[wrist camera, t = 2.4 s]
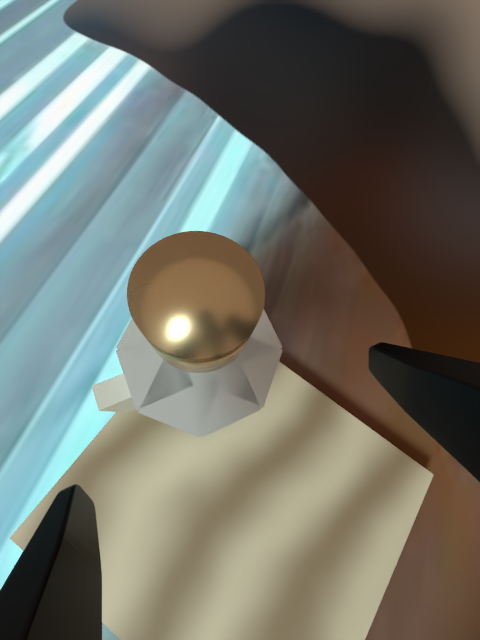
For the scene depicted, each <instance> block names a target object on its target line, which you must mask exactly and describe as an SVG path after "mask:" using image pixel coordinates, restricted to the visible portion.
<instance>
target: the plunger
mask: <svg viewBox="0 0 480 640" xmlns="http://www.w3.org/2000/svg"><path fill="white" fill-rule="evenodd" d="M127 300H128V306H129V310H130V314H131V316H132V318H133V320H134V322H135V324H136V325H137V327H138V329H139V330H140V331H141V333H142V334H143V335H144V337H145V338H146V339H147V341H148V342H149V343H150V344H151V346H152V347H153V348H154V350H155V351H156V352H157V354H158V355H159V356H160V357H161V358H162V359H163V360H164V361H165V362H167V363H168V364H170V365H171V366H173V367H175V368H177V369H179V370H182V371H185V372H191V373H207V372H212V371H215V370H218V369H221V368H223V367H225V366H227V365H228V364H230V363H231V362H232V361H233V360H235V359H236V358H237V357H238V356H239V354H240V353H241V352H242V351H243V349H244V347H245V346H246V344H247V342H248V340H249V338H250V336H251V334H252V333H253V331H254V329H255V327H256V325H257V323H258V321H259V319H260V317H261V315H262V312H263V308H264V303H265V285H264V280H263V277H262V274H261V271H260V269H259V267H258V265H257V264H256V262H255V260H254V259H253V258H252V256H251V255H250V254H249V253H248V252H247V251H246V250H245V249H244V248H243V247H241V246H240V245H239V244H237V243H236V242H234V241H232V240H231V239H228V238H226V237H224V236H221V235H218V234H215V233H210V232H203V231H189V232H181V233H177V234H174V235H171V236H168V237H166V238H164V239H162V240H160V241H158V242H157V243H155V244H154V245H152V246H151V247H150V248H149V249H147V250H146V251H145V252H144V253H143V254H142V256H141V257H140V258H139V259H138V261H137V262H136V264H135V266H134V268H133V270H132V272H131V275H130V278H129V282H128V287H127Z"/></svg>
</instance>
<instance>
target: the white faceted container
mask: <svg viewBox="0 0 480 640" xmlns="http://www.w3.org/2000/svg"><path fill="white" fill-rule="evenodd" d="M116 348H117V349H119V350H116V352H117V355H118V358H119V361H120V364H121V367H122V370H123V374H121V375H118V376H116V377H113V378H111V379H108V380H106V381H103V382H101V383H98V384H96V385H93V386H92V388H93V392H94V395H95V398H96V402H97V405H98V408H99V411H113V412H129V411H131V410H134V409H136V410H137V411H138V413H140V414H143V415H145V416H148V417H150V418H153V419H155V420H157V421H160V422H162V423H165V424H167V425H170V426H172V427H174V428H177V429H179V430H182V431H184V432H187V433H189V434H192V435H194V436H196V437H200V434H201V435H202V437H204V436H206V435H209V434H211V433H213V432H215V431H217V430H219V429H221V428H223V427H226V426H228V425H230V424H232V423H234V422H236V421H238V420H240V419H242V418H245V417H247V416H249V415H251V414H253V413H255V412H257V411H259V410H261V408H262V407H264V404H265V401H266V398H267V395H268V392H269V389H270V386H271V383H272V380H273V378H274V375H275V372H276V369H277V366H278V363H279V360H280V357H281V354H282V351H283V350H281V348H283V347H282V345H281V343H280V341H279V339H278V337H277V335H276V333H275V331H274V329H273V327H272V325H271V322H270V320H269V318H268V316H267V314H266V312H265V310H264V308H263V312H262V315H261V317H260V319H259V321H258V323H257V325H256V327H255V329H254V331H253V333H252V334H251V336H250V338H249V340H248V342H247V344H246V346H245V347H244V349H243V351H242V352H241V353H240V354H239V356H238V357H237V358H236V359H235V360H233V361H232V362H231V363H230V364H228V365H227V366H225V367H223V368H221V369H218V370H215V371H212V372H207V373H191V372H185V371H182V370H179V369H177V368H175V367H173V366H171V365H170V364H168V363H167V362H165V361H164V360H163V359H162V358H161V357H160V356H159V355H158V354H157V352H156V351H155V350H154V348H153V347H152V346H151V344H150V343H149V342H148V341H147V339H146V338H145V337H144V335H143V334H142V333H141V331H140V330H139V329H138V327H137V325H136V324H135V322H134V320H133V318H132V320H131V322H130V323H129V325H128V327H127V329H126V331H125V333H124V334H123V336H122V338H121V340H120V342H119V344H118V345H117V347H116Z"/></svg>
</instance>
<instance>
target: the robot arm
mask: <svg viewBox="0 0 480 640" xmlns="http://www.w3.org/2000/svg"><path fill="white" fill-rule="evenodd" d="M369 370H370V372H371V373H372V375H373V376H374V377H375V378H376V379H377V380H378V382H379V383H380V384H381V385H382V386H383V387H384V388H385V390H386V391H387V392H388V393H389V394H390V395H391V396H392V398H393V399H394V400H395V401H396V402H397V403H398V404H399V406H400V407H401V408H402V409H403V410H404V411H405V412H406V413H407V414H408V415H409V416H410V417H411V418H412V419H413V420H414V421H416V422H417V423H418V424H419V425H420V426H421V427H422V428H423V429H424V430H425V431H426V432H427V433H428V434H429V435H430V436H431V437H432V438H434V439H435V440H436V441H437V442H438V443H439V444H440V445H441V446H442V447H443V448H444V449H445V450H446V451H447V452H448V453H449V454H451V455H452V456H453V457H454V458H455V459H456V460H457V461H458V462H459V463H460V464H461V465H462V466H463V467H464V468H465V469H466V470H467V471H469V472H470V473H471V474H472V475H473V476H474V477H475V478H476V479H477V480H478V481H479V482H480V363H478V362H473V361H468V360H464V359H459V358H454V357H450V356H445V355H440V354H435V353H431V352H426V351H421V350H416V349H412V348H407V347H402V346H397V345H393V344H388V343H383V342H381V343H378V344H376V345H373V346H371V347H370V348H369ZM0 640H102V570H101V558H100V549H99V539H98V530H97V520H96V511H95V505H94V503H93V501H92V499H91V498H90V497H89V496H88V494H87V493H86V492H85V491H84V490H83V489H82V487H81V486H80V485H78V484H73V485H71V486H69V487H67V488H65V489H63V490H61V491H60V492H59V493H58V494H57V495H56V497H55V499H54V500H53V502H52V504H51V505H50V507H49V509H48V510H47V512H46V514H45V516H44V517H43V519H42V521H41V522H40V524H39V526H38V527H37V529H36V531H35V532H34V534H33V536H32V538H31V539H30V541H29V543H28V544H27V546H26V548H25V549H24V551H23V553H22V554H21V556H20V558H19V560H18V561H17V563H16V565H15V566H14V568H13V570H12V571H11V573H10V575H9V576H8V578H7V580H6V582H5V583H4V585H3V587H2V588H1V590H0Z"/></svg>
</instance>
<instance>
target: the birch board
mask: <svg viewBox="0 0 480 640" xmlns="http://www.w3.org/2000/svg"><path fill="white" fill-rule="evenodd" d="M432 477H433V474H432V473H431V472H429V471H428V470H427V469H425V468H424V467H422V466H421V465H420V464H418V463H417V462H416V461H414V460H413V459H412V458H410V457H409V456H407V455H406V454H405V453H403V452H402V451H401V450H399V449H398V448H397V447H395V446H394V445H392V444H391V443H390V442H388V441H387V440H386V439H384V438H383V437H381V436H380V435H379V434H377V433H376V432H375V431H373V430H372V429H371V428H369V427H368V426H366V425H365V424H364V423H362V422H361V421H360V420H358V419H357V418H356V417H354V416H353V415H351V414H350V413H349V412H347V411H346V410H345V409H343V408H342V407H341V406H339V405H338V404H336V403H335V402H334V401H332V400H331V399H330V398H328V397H327V396H326V395H324V394H323V393H321V392H320V391H319V390H317V389H316V388H315V387H313V386H312V385H311V384H309V383H308V382H306V381H305V380H304V379H302V378H301V377H300V376H298V375H297V374H296V373H294V372H293V371H291V370H290V369H289V368H287V367H286V366H285V365H283V364H282V363H281V362H279V363H278V366H277V369H276V372H275V375H274V378H273V380H272V383H271V386H270V389H269V392H268V395H267V398H266V401H265V404H264V407H262V408H261V410H259V411H257V412H255V413H253V414H251V415H249V416H247V417H245V418H242V419H240V420H238V421H236V422H234V423H232V424H230V425H228V426H226V427H223V428H221V429H219V430H217V431H215V432H213V433H211V434H209V435H206V436H204V437H202V435H201V434H200V437H196V436H194V435H192V434H189V433H187V432H184V431H182V430H179V429H177V428H174V427H172V426H170V425H167V424H165V423H162V422H160V421H157V420H155V419H153V418H150V417H148V416H145V415H143V414H140V413H138V411H137V410H136V409H134V410H131V411H129V412H116V413H115V414H114V416H113V417H112V418H111V419H110V420H109V421H108V423H107V424H106V425H105V426H104V427H103V429H102V430H101V431H100V432H99V433H98V434H97V436H96V437H95V438H94V439H93V440H92V442H91V443H90V444H89V445H88V446H87V448H86V449H85V450H84V451H83V452H82V453H81V455H80V456H79V457H78V458H77V459H76V461H75V462H74V463H73V464H72V465H71V466H70V468H69V469H68V470H67V471H66V472H65V474H64V475H63V476H62V477H61V478H60V479H59V481H58V482H57V483H56V484H55V485H54V487H53V488H52V489H51V490H50V491H49V492H48V494H47V495H46V496H45V497H44V498H43V500H42V501H41V502H40V503H39V504H38V505H37V507H36V508H35V509H34V510H33V511H32V513H31V514H30V515H29V516H28V517H27V518H26V520H25V521H24V522H23V523H22V524H21V526H20V527H19V528H18V529H17V530H16V531H15V533H14V534H13V535H12V536H11V537H10V539H11V540H12V541H13V542H15V543H16V544H17V545H18V546H19V547H20V548H21V549H22V550H23V551H24V549H25V548H26V546H27V544H28V543H29V541H30V539H31V538H32V536H33V534H34V532H35V531H36V529H37V527H38V526H39V524H40V522H41V521H42V519H43V517H44V516H45V514H46V512H47V510H48V509H49V507H50V505H51V504H52V502H53V500H54V499H55V497H56V495H57V494H58V493H59V492H60V491H61V490H63V489H65V488H67V487H69V486H71V485H73V484H78V485H80V486H81V487H82V489H83V490H84V491H85V492H86V493H87V494H88V496H89V497H90V498H91V499H92V501H93V503H94V505H95V511H96V520H97V530H98V539H99V549H100V558H101V570H102V623H103V624H104V625H105V626H107V627H108V628H109V629H110V630H111V631H112V632H113V633H114V634H115V635H116V636H118V637H119V638H120V639H121V640H365V638H366V636H367V633H368V631H369V629H370V626H371V624H372V621H373V619H374V617H375V614H376V612H377V609H378V607H379V605H380V602H381V600H382V597H383V595H384V593H385V590H386V588H387V585H388V583H389V581H390V578H391V576H392V573H393V571H394V569H395V566H396V564H397V561H398V559H399V557H400V554H401V552H402V549H403V547H404V545H405V542H406V540H407V537H408V535H409V533H410V530H411V528H412V525H413V523H414V521H415V518H416V516H417V513H418V511H419V509H420V506H421V504H422V501H423V499H424V497H425V494H426V492H427V489H428V487H429V485H430V482H431V480H432Z"/></svg>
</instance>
